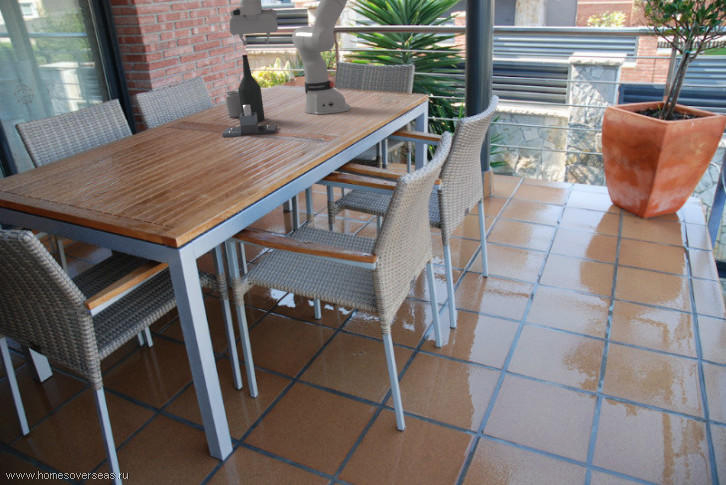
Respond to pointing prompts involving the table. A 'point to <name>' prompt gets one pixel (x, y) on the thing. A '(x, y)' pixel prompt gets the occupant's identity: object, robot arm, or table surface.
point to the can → (233, 104)
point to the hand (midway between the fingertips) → (256, 44)
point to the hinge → (249, 127)
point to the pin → (247, 109)
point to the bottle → (250, 92)
